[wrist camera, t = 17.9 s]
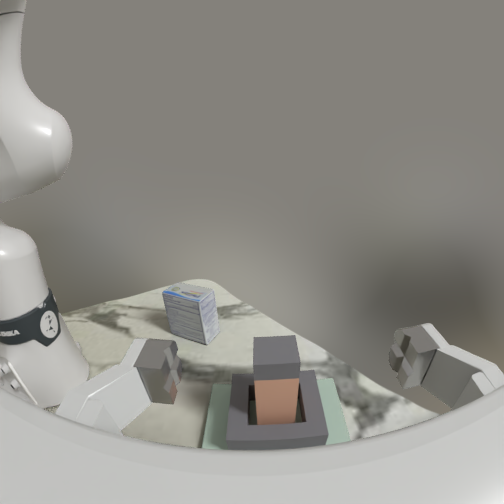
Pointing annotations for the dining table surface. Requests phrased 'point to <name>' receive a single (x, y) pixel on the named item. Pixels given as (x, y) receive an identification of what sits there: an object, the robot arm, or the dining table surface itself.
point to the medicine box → (192, 312)
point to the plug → (276, 379)
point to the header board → (223, 411)
